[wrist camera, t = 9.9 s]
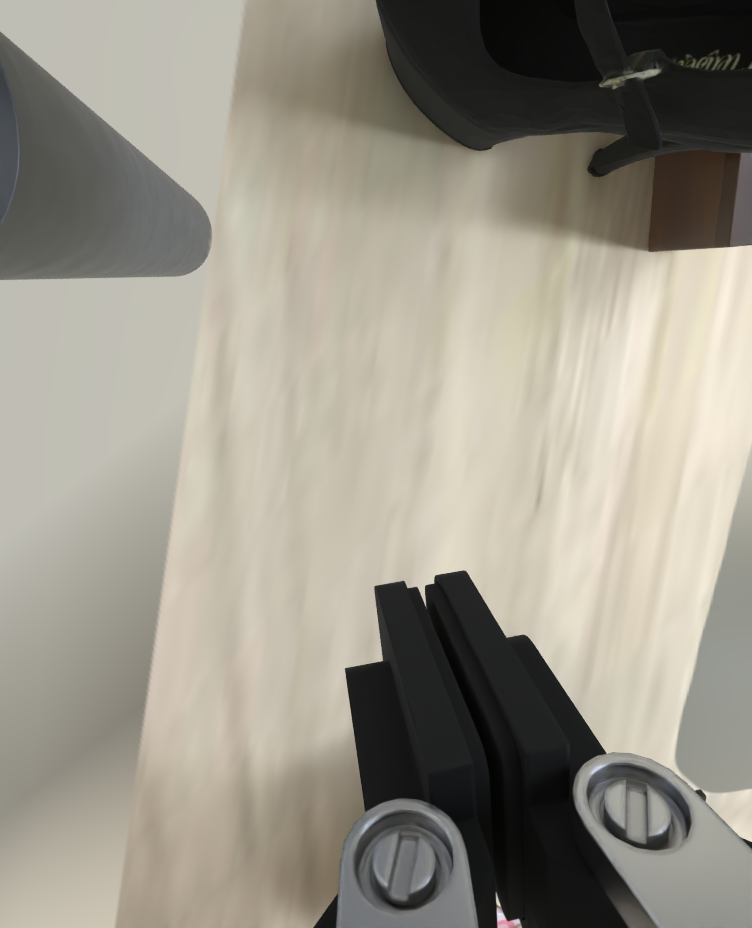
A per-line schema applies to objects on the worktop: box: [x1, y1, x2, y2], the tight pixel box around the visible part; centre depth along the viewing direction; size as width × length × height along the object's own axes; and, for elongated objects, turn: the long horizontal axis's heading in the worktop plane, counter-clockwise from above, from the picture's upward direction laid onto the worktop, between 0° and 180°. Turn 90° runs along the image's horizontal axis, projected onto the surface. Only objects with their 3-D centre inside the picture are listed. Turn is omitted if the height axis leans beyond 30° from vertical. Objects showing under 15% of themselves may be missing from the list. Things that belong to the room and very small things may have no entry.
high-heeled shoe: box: [376, 0, 752, 177], centre depth 23 cm, size 8×19×20 cm, turn 69°
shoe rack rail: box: [649, 149, 752, 252], centre depth 30 cm, size 4×16×7 cm, turn 5°
